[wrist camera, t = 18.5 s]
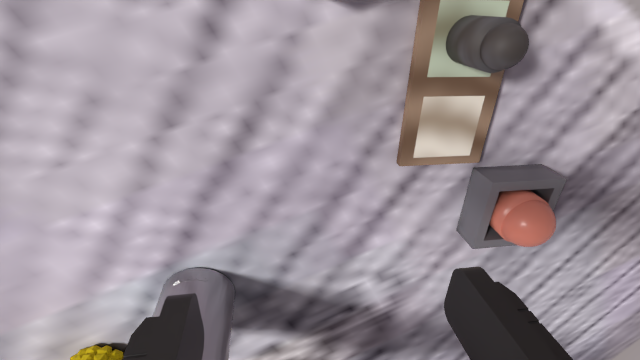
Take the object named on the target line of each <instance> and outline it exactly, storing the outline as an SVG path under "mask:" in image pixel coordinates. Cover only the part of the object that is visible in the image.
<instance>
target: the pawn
mask: <svg viewBox="0 0 640 360" xmlns="http://www.w3.org/2000/svg"><path fill="white" fill-rule="evenodd" d="M528 45H529V39H528V35H527V33H526V31H525V30H524V29H523V28H522V27H521V25H520V24H519V23H518V22H517V21H516V20H514V19H512V18H508V17H494V16H479V15H469V16H465V17H463V18H461V19H460V20H458V21H457V22H456V23H455V24H454V25H453V26H452V28H451V29H450V31H449V33H448V35H447V39H446V51H447V54H448V56H449V57H450V59H451V60H453V61H454V62H456V63H459V64H462V65H465V66H468V67H471V68H474V69H478V70H481V71H484V72H487V73H496V72H500V71H502V70H504V69H508V68H510V67H512V66H514V65H516V64H517V63H518V62H520V61H521V60H522V58H523V57H524V56H525V54H526V52H527V49H528Z"/></svg>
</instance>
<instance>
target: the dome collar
mask: <svg viewBox="0 0 640 360" xmlns="http://www.w3.org/2000/svg"><path fill="white" fill-rule="evenodd" d="M566 180H567V178H565V177H563V176H561V175H560V174H558V173H556V172H554V171H553V170H551V169H549V168H547V167H546V166H544V165H542V164H540V165H519V166H499V167H479V168H473V171H472V175H471V178H470V182H469V186H468V189H467V193H466V197H465V200H464V204H463V208H462V211H461V215H460V219H459V222H458V226H457V231H458V233H459V234H460V235H461V236H462V237H463V238H464V240H465V241H466V242H467V243H468V244H469V245H470V247H471V248H472V249H478V248H489V247H501V246H512V245H516V244H514V243H512V242H508V241H506V240H504V239H503V238H502V237H501V236H500V235H499V234H498V233H497V232H496V231H495V230H494V229H493V228H492V227H491V226H490V225H489V223H490V220H491V217H492V213H493V210H494V207H495V204H496V201H497V198H498V195H499V192H500V191H517V190H531V191H532V192H533V193H535V194H536V195H538V196H539V197H541V198H542V199H543V200H545V201H546V202H547V203H548V204H549V206H550V208H551V209H552V211H554V208H555V206H556V204H557V201H558V199H559V197H560V194H561V192H562V190H563V187H564V185H565V183H566Z"/></svg>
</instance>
